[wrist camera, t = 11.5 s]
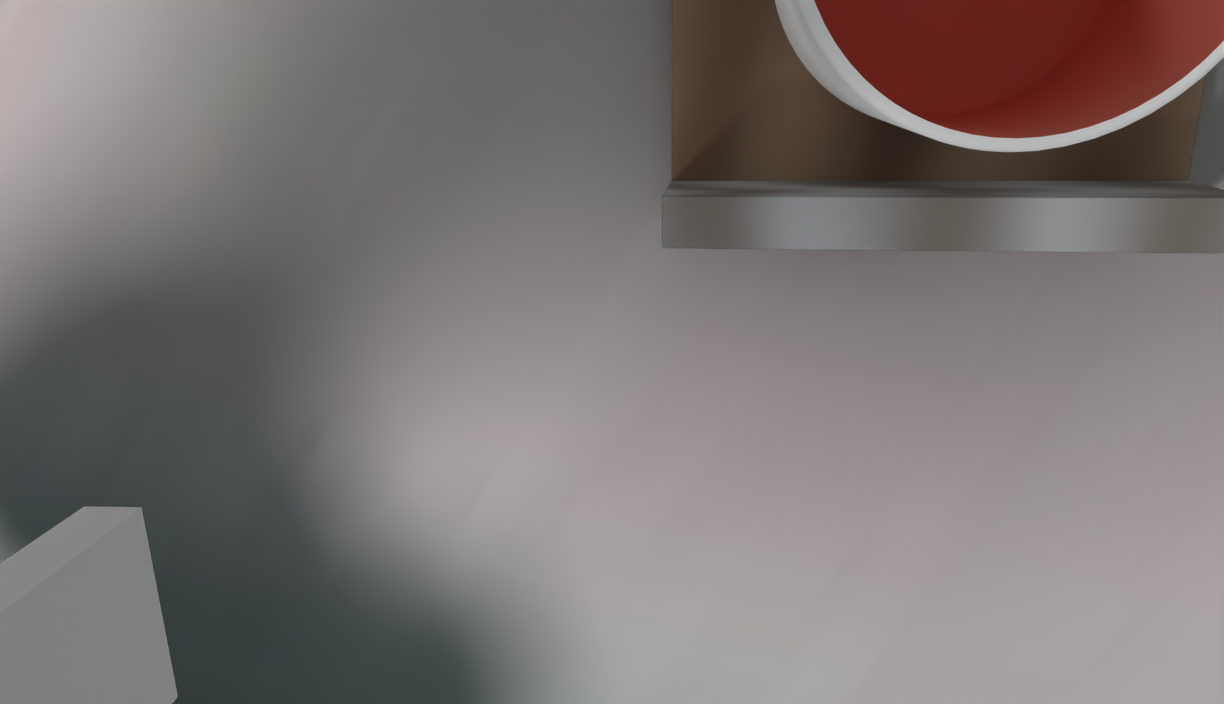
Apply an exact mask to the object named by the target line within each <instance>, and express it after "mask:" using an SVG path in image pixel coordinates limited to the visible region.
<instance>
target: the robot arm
mask: <svg viewBox="0 0 1224 704" xmlns="http://www.w3.org/2000/svg"><path fill="white" fill-rule="evenodd" d="M177 697H178V695H177V689H176V684H175V679H174V674H173V668H172V663H171V658H170V653H169V648H168V642H167V637H166V632H165V627H164V622H163V616H162V611H161V606H160V601H159V596H158V590H157V585H156V580H155V575H154V569H153V564H152V559H151V554H150V549H149V543H148V538H147V533H146V528H145V523H144V517H143V512H142V507H86V506H84V507H83V508H81V509H80V510H78V511H77V512H75V513H74V514H72V515H71V516H69V517H68V518H66V519H65V520H63V521H62V522H60V523H59V524H57V525H56V526H55V527H53V528H52V529H50V530H49V531H47V532H46V533H44V534H43V535H41V536H40V537H38V538H37V539H35V540H34V541H32V542H31V543H29V544H28V545H26V546H25V547H23V548H22V549H21V550H19V551H18V552H16V553H15V554H13V555H12V556H10V557H9V558H7V559H6V560H4V561H3V562H1V563H0V704H172V703H173V702H174V701H175V700H176V699H177Z"/></svg>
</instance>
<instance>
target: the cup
mask: <svg viewBox="0 0 1224 704" xmlns="http://www.w3.org/2000/svg"><path fill="white" fill-rule="evenodd" d="M775 4H776V8H777V12H778V15H779V18H780V21H781V24H782V26H783V29H784V31H785V33H786V35H787V38H788V40H789V42H790V44H791V45H792V47H793V49H794V51H795V53H796V54H797V56H798V57H799V59H800V60H801V62H802V63H803V64H804V66H805V67H806V68H807V70H808V71H809V72H810V73H811V74H812V75H813V77H814V78H815V79H816V80H817V81H818V82H819V83H820V84H821V85H822V86H823V87H825V88H826V89H827V90H828V91H829V92H830V93H832V94H833V95H834V96H836V97H837V98H838V99H840V100H841V101H843V102H844V103H846V104H848V105H849V106H851V107H853V108H854V109H856V110H858V111H860V112H862V113H865V114H867V115H869V116H871V117H874V118H877V119H879V120H882V121H885V122H887V123H890V124H893V125H896V126H898V127H901V128H904V129H907V130H909V131H912V132H915V133H918V134H920V135H923V136H926V137H929V138H931V139H934V140H937V141H940V142H943V143H947V144H951V145H955V146H959V147H963V148H969V149H975V150H983V151H995V152H1025V151H1039V150H1045V149H1052V148H1058V147H1065V146H1068V145H1072V144H1076V143H1080V142H1084V141H1087V140H1091V139H1095V138H1097V137H1100V136H1103V135H1105V134H1108V133H1111V132H1113V131H1116V130H1118V129H1121V128H1123V127H1125V126H1127V125H1129V124H1131V123H1133V122H1135V121H1137V120H1139V119H1141V118H1143V117H1145V116H1147V115H1149V114H1151V113H1153V112H1154V111H1156V110H1157V109H1159V108H1161V107H1162V106H1164V105H1165V104H1167V103H1168V102H1170V101H1172V100H1173V99H1175V98H1176V97H1178V96H1179V95H1180V94H1182V93H1183V92H1184V91H1186V90H1187V89H1188V88H1189V87H1191V86H1192V85H1193V84H1195V83H1196V82H1197V81H1198V80H1200V79H1201V78H1202V77H1203V76H1204V75H1206V74H1207V73H1208V72H1209V71H1210V70H1211V69H1212V68H1213V67H1214V66H1215V65H1216V64H1217V63H1218V62H1219V61H1221V60H1222V59H1223V58H1224V0H775Z"/></svg>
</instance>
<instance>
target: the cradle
mask: <svg viewBox="0 0 1224 704" xmlns="http://www.w3.org/2000/svg"><path fill="white" fill-rule="evenodd" d="M1205 77H1206V75H1204V76H1203V77H1202V78H1201V79H1200V80H1198V81H1197V82H1196V83H1195V84H1193V85H1192V86H1191V87H1189V88H1188V89H1187V90H1186V91H1184V92H1183V93H1182V94H1180V95H1179V96H1178V97H1176V98H1175V99H1173V100H1172V101H1170V102H1168V103H1167V104H1165V105H1164V106H1162V107H1161V108H1159V109H1157V110H1156V111H1154V112H1153V113H1151V114H1149V115H1147V116H1145V117H1143V118H1141V119H1139V120H1137V121H1135V122H1133V123H1131V124H1129V125H1127V126H1125V127H1123V128H1121V129H1118V130H1116V131H1113V132H1111V133H1108V134H1105V135H1103V136H1100V137H1097V138H1095V139H1091V140H1087V141H1084V142H1080V143H1076V144H1072V145H1068V146H1065V147H1058V148H1052V149H1045V150H1039V151H1025V152H995V151H983V150H975V149H969V148H963V147H959V146H955V145H951V144H947V143H943V142H940V141H937V140H934V139H931V138H929V137H926V136H923V135H920V134H918V133H915V132H912V131H909V130H907V129H904V128H901V127H898V126H896V125H893V124H890V123H887V122H885V121H882V120H879V119H877V118H874V117H871V116H869V115H867V114H865V113H862V112H860V111H858V110H856V109H854V108H853V107H851V106H849V105H848V104H846V103H844V102H843V101H841V100H840V99H838V98H837V97H836V96H834V95H833V94H832V93H830V92H829V91H828V90H827V89H826V88H825V87H823V86H822V85H821V84H820V83H819V82H818V81H817V80H816V79H815V78H814V77H813V75H812V74H811V73H810V72H809V71H808V70H807V68H806V67H805V66H804V64H803V63H802V62H801V60H800V59H799V57H798V56H797V54H796V53H795V51H794V49H793V47H792V45H791V44H790V42H789V40H788V38H787V35H786V33H785V31H784V29H783V26H782V24H781V21H780V18H779V15H778V12H777V8H776V4H775V0H672V181H671V183H670V185H669V186H668V188H667V190H666V192H665V193H664V195H663V197H662V248H709V249H816V250H923V251H1030V252H1137V253H1224V190H1222V189H1218V188H1214V187H1210V186H1206V185H1202V184H1198V183H1194V182H1190V181H1188V178H1189V172H1190V166H1191V160H1192V154H1193V148H1194V142H1195V136H1196V130H1197V124H1198V118H1199V113H1200V107H1201V101H1202V95H1203V89H1204V83H1205Z"/></svg>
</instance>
